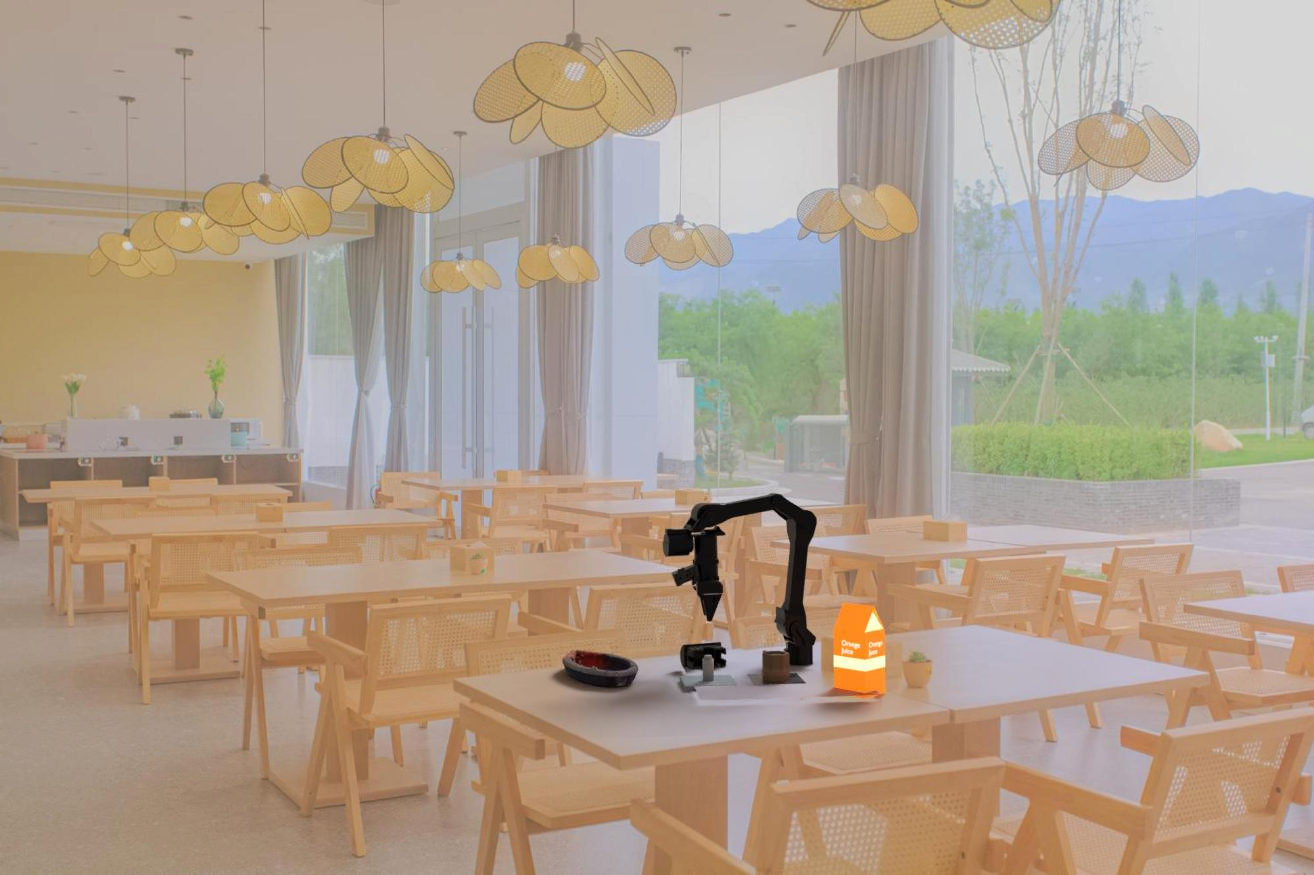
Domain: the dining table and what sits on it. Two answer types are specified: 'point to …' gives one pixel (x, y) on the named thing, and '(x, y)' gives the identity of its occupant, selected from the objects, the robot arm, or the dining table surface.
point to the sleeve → (775, 666)
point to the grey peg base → (706, 677)
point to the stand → (759, 680)
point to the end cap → (702, 654)
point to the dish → (600, 668)
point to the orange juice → (859, 650)
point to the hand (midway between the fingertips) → (707, 618)
